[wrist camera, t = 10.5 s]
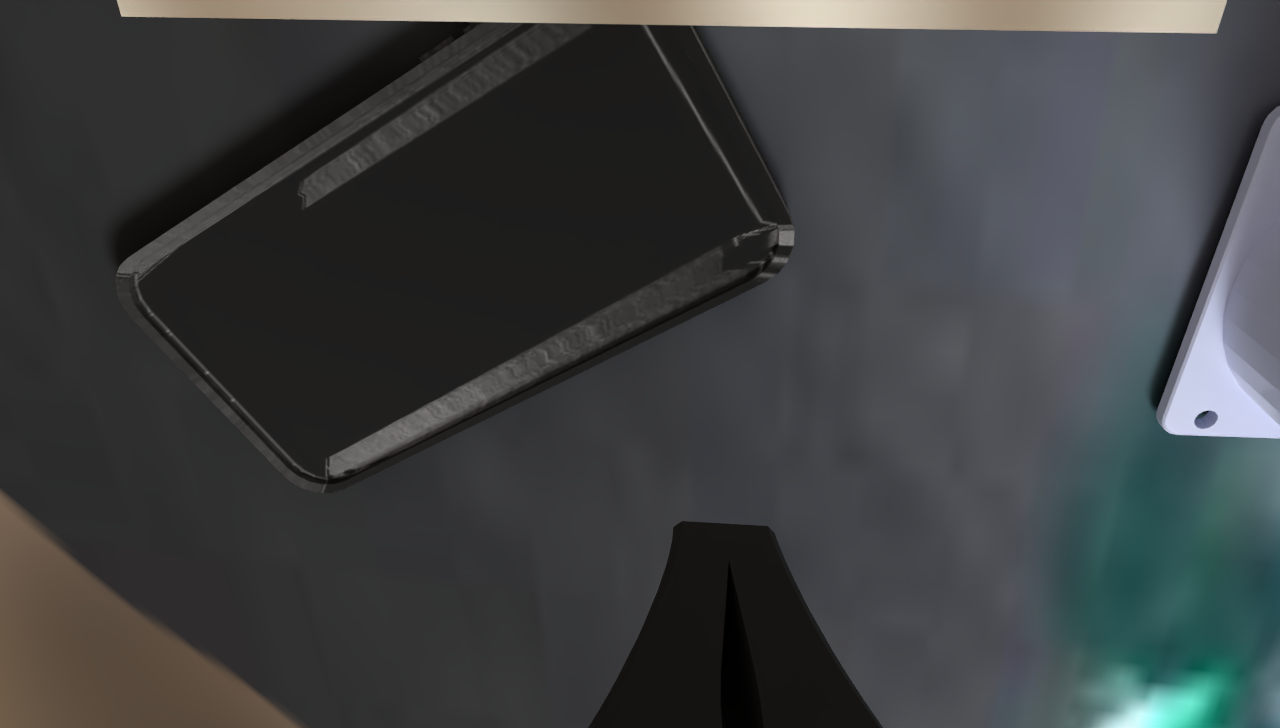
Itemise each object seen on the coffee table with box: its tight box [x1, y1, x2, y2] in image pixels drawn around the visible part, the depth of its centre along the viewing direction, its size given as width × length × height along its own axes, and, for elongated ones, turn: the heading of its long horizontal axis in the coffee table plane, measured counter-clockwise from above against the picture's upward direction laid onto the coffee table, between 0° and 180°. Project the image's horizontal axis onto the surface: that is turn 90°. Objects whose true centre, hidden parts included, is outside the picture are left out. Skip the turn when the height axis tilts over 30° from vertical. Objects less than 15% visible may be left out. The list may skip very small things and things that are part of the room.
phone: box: [115, 22, 794, 493], centre depth 20 cm, size 8×1×15 cm
